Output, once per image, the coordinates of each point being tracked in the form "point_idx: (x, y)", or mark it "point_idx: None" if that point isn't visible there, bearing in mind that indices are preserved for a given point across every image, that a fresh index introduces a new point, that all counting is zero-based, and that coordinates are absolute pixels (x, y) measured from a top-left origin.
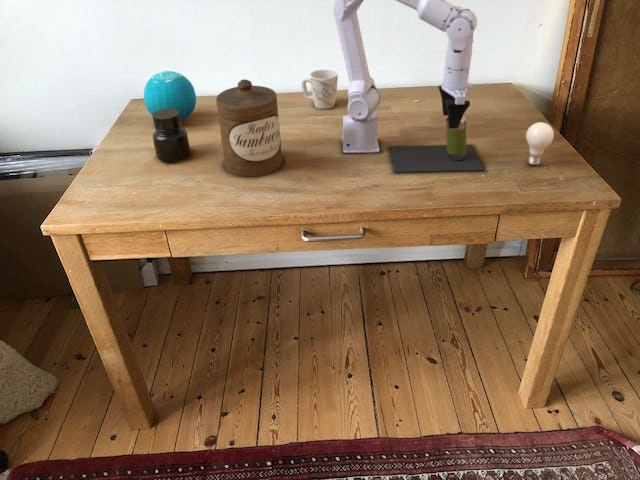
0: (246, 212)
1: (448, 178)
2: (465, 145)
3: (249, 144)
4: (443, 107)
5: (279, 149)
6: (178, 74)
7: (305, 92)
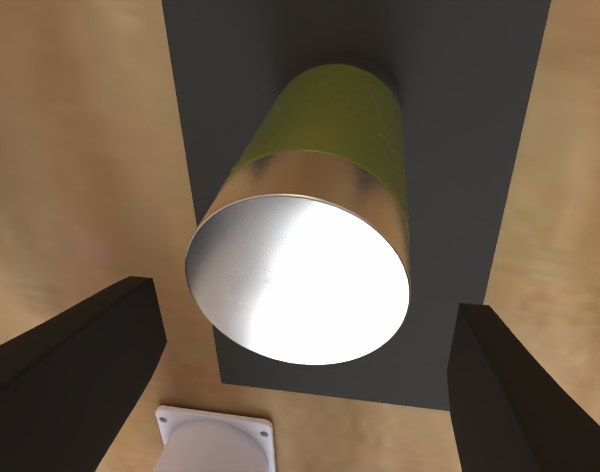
0: None
1: (582, 208)
2: (375, 93)
3: None
4: (123, 418)
5: None
6: None
7: None
